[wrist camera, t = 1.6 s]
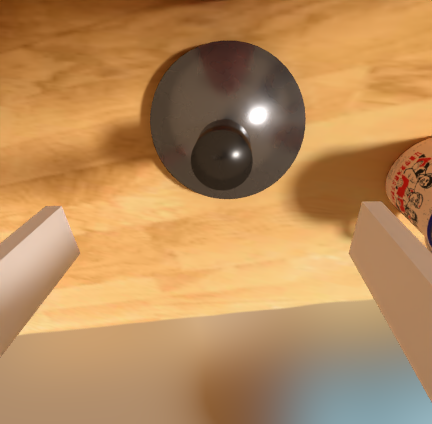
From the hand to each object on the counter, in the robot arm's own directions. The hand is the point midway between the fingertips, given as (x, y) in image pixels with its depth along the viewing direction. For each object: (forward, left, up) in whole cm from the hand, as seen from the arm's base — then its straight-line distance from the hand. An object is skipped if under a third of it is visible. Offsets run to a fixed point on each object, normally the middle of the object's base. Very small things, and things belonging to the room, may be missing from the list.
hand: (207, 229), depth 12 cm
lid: (0, 0, -18) cm, 18 cm away
